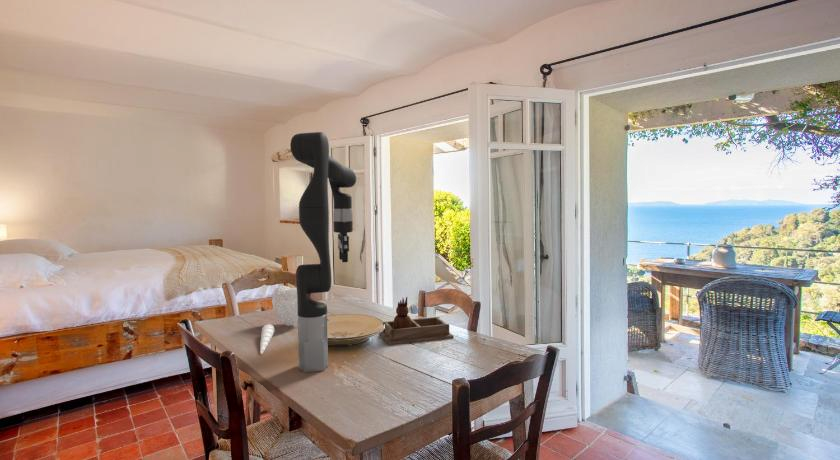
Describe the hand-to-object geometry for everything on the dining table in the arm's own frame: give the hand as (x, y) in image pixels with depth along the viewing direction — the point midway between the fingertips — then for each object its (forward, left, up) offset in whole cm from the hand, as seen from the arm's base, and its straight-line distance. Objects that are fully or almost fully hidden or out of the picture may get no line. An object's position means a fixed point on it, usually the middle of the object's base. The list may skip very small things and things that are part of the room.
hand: (343, 260), depth 164 cm
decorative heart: (+21, +21, -30) cm, 42 cm away
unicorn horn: (-1, +30, -31) cm, 43 cm away
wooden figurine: (-10, -21, -29) cm, 37 cm away
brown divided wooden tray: (-10, -27, -30) cm, 42 cm away
